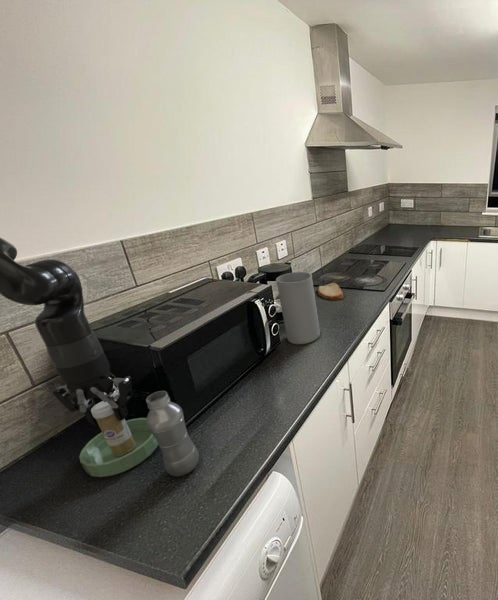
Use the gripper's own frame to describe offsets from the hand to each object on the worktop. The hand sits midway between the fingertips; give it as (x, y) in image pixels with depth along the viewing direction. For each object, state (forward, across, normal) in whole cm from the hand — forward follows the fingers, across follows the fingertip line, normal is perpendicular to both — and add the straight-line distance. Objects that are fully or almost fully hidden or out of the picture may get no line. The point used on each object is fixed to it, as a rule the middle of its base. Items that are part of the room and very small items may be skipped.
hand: (109, 419), depth 73 cm
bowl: (+10, 0, 0) cm, 10 cm away
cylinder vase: (+10, -38, -48) cm, 62 cm away
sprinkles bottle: (+10, 0, 0) cm, 10 cm away
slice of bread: (+10, -49, -94) cm, 107 cm away
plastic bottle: (+10, -16, +8) cm, 21 cm away
